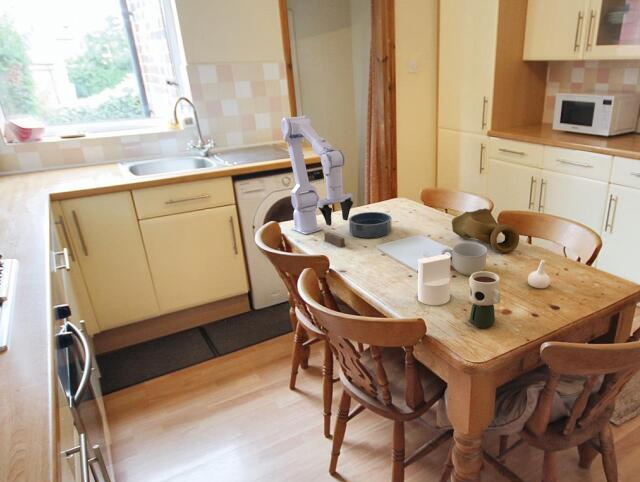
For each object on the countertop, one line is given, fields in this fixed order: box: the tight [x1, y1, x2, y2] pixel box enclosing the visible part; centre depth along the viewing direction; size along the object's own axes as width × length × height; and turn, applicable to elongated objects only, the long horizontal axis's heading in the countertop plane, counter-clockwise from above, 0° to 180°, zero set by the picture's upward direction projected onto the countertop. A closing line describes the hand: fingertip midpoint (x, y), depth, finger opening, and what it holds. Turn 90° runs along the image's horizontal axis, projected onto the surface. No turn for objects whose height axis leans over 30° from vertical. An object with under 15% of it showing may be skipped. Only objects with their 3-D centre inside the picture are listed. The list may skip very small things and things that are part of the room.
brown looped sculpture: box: [451, 207, 520, 254], centre depth 167 cm, size 18×13×22 cm
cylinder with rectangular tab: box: [417, 253, 452, 306], centre depth 129 cm, size 9×9×12 cm
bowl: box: [348, 211, 393, 239], centre depth 183 cm, size 17×17×6 cm
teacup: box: [440, 241, 488, 277], centre depth 146 cm, size 14×11×8 cm
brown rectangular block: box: [323, 231, 346, 248], centre depth 172 cm, size 10×2×3 cm, turn 43°
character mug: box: [468, 270, 502, 329], centre depth 115 cm, size 11×7×13 cm, turn 30°
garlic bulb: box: [527, 259, 551, 289], centre depth 135 cm, size 6×6×8 cm
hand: (337, 222), depth 169 cm, fingers open, 7 cm apart
